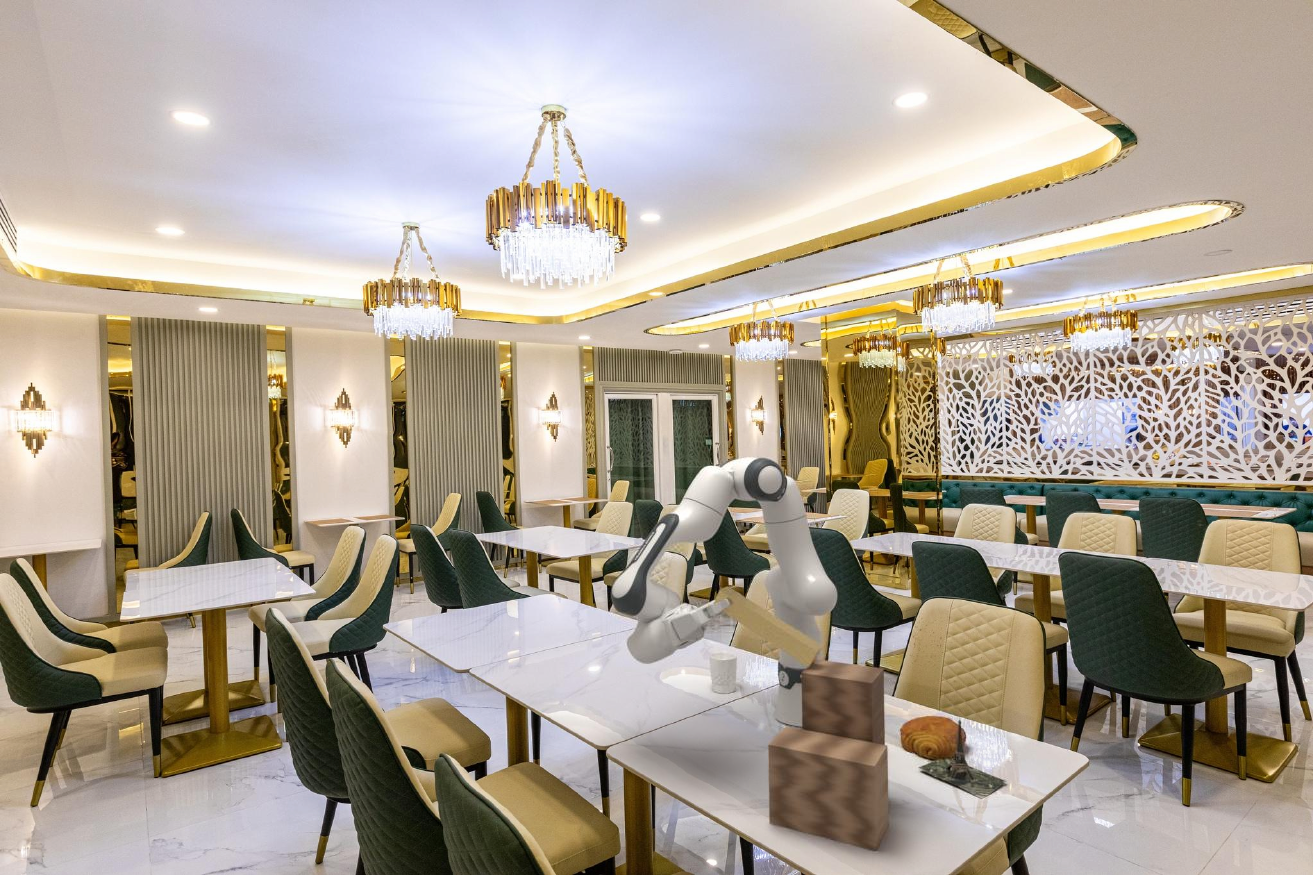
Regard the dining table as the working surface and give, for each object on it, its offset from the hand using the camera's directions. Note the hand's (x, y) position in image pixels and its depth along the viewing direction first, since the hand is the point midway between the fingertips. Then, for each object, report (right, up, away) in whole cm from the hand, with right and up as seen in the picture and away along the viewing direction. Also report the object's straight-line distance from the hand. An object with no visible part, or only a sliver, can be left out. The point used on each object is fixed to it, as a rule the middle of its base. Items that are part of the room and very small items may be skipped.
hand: (734, 598), depth 161 cm
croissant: (+48, -38, +13) cm, 62 cm away
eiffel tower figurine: (+48, -38, -3) cm, 61 cm away
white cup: (+3, -39, +54) cm, 66 cm away
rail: (+6, -7, -3) cm, 9 cm away
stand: (+18, -38, -16) cm, 45 cm away
